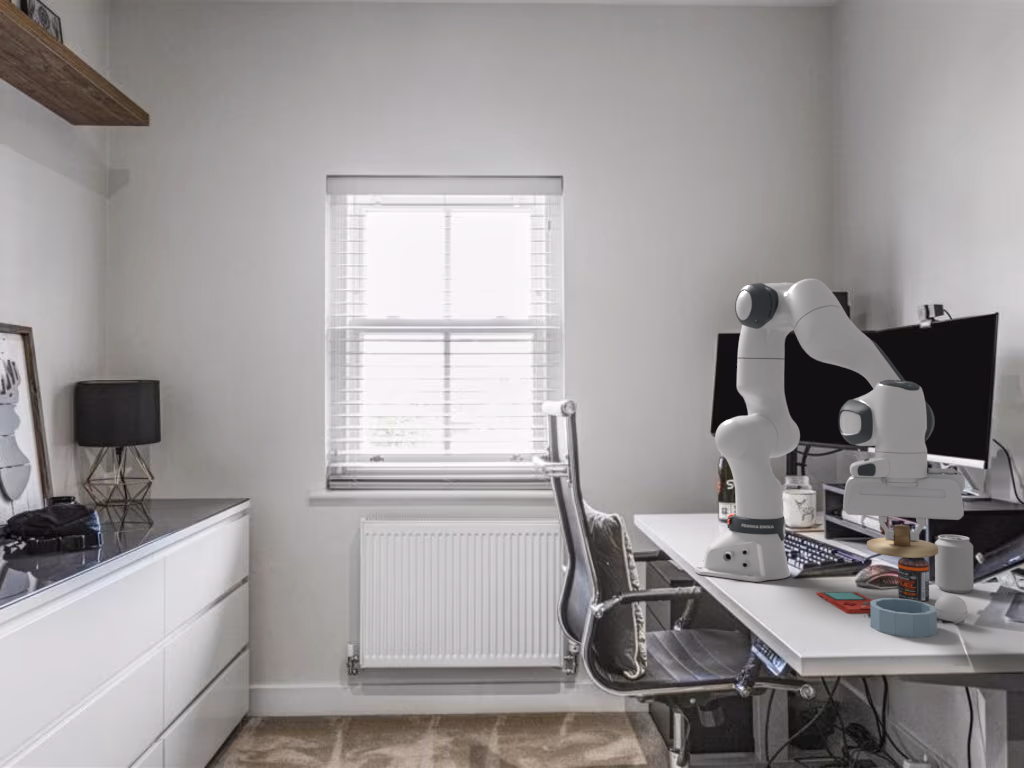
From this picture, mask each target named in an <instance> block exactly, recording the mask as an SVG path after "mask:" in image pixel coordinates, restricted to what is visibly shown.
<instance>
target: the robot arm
mask: <svg viewBox="0 0 1024 768" xmlns="http://www.w3.org/2000/svg"><path fill="white" fill-rule="evenodd" d="M734 312H735V315H736V318H737V319H738V321H739V323H740V324H741V328H740V334H739V338H738V339H739V340H738V347H737V360H736V361H737V363H736V366H737V368H736V390H737V392H738V393H739V395H740V396H741V397H742V398H743V400H744V403H745V405H746V409H747V415H737V416H734V417H731V418H729V419H726V420H725V421H723V422H721V423H720V424H719V425H718V427H717V429H716V431H715V437H714V441H715V442H714V443H715V446H716V449H717V450H718V452H719V453H720V455H722V456H723V458H725V460H726V461H727V463H728V466H729V468H730V471H731V474H732V477H733V482H734V492H735V495H734V496H735V513H733V512H732V513H730V514H729V515H728V516H727V523H726V524H727V525H726V526H727V530H726V531H724V532H723V533H721V534H720V535H718V536H717V537H716V538H715V539H713V540H712V541H710V543H709V544H708V545H707V546H706V550H705V551H704V552H705V553H704V559H703V560H702V561H699V562H697V563H696V565H695V568H694V570H695V573H696V574H697V575H698V574H699V575H702V576H708V577H709V576H710V577H717V578H724V579H731V580H739V581H747V582H754V583H755V582H757V583H758V582H759V583H760V582H765V581H772V580H773V581H774V580H781V579H785V578H788V577H790V576H791V571H790V568H789V564H788V560H787V554H786V549H785V547H786V546H785V539H786V521H785V516H784V515H783V512H784V511H783V508H784V507H783V485H782V483H781V481H780V480H779V479H778V478H777V477H776V476H775V473H774V472H773V469H772V465H771V459H774V458H775V459H776V458H780V457H781V458H782V457H783V456H785V455H787V454H790V453H791V452H793V451H794V450H795V449H796V448H797V447H798V445H799V444H800V440H801V439H800V438H801V433H800V429H799V427H798V425H797V423H796V422H795V420H793V418H792V416H791V415H790V411H789V408H788V404H787V399H786V394H785V352H786V351H785V350H786V349H785V348H786V347H785V343H786V339H787V336H788V335H789V334H790V332H794V334H795V337H796V338H797V341H798V342H799V345H800V346H801V347H800V348H802V350H803V351H804V352H805V353H806V354H807V355H808V356H809V357H810V358H812V359H814V360H815V361H818V362H821V363H825V364H829V365H834V366H838V367H841V368H845V369H847V370H851V371H853V372H856V373H858V374H859V375H861V376H862V377H864V378H865V379H866V381H867V382H868V383H869V384H870V386H871V387H872V390H871V391H869V392H867V393H866V394H863V395H861V396H859V397H855V398H853V399H851V398H850V399H848V400H847V401H846V402H845V403H844V404H843V405H842V406H841V408H840V410H839V413H838V418H837V423H838V430H839V432H840V434H841V436H842V437H843V439H844V440H845V441H846V442H847V443H849V444H850V445H853V446H854V445H855V446H858V447H872V446H873V447H875V448H874V457H870V458H865V459H863V460H858V461H854V462H853V463H851V464H850V466H849V474H850V476H849V477H848V479H847V480H846V482H845V485H844V486H845V487H844V493H843V500H842V501H843V504H842V511H844V513H845V514H846V515H847V516H848V515H850V516H851V515H852V516H868V517H869V516H871V517H878V523H879V525H880V526H881V528H882V530H883V531H884V537H885V540H887V541H894V529H889V528H888V526H887V525H886V523H887V521H888V517H892V518H912V519H916V523H917V524H918V525H916V526H917V527H916V528H915V529H914V530H910V542H919V540H920V534H921V532H922V530H923V529H924V527H925V526H926V521H927V520H926V519H929V520H930V519H932V520H954V521H959V520H961V519H962V518H963V517H964V513H965V512H964V504H963V497H962V492H964V490H965V486H966V485H965V484H966V483H965V482H966V481H965V476H964V474H963V473H962V472H960V471H958V470H956V469H955V468H951V467H950V468H949V467H947V468H940V467H928V448H927V445H926V441H927V440H928V439H929V438H930V437H931V434H932V433H933V431H934V428H935V424H936V423H935V415H934V412H933V409H932V407H931V406H930V405H929V404H928V402H927V401H926V399H925V395H924V391H923V388H922V387H921V386H920V385H919V384H918V383H916V382H913V381H908V380H906V379H905V378H904V377H903V375H902V374H901V373H900V372H899V370H898V369H897V368H896V366H895V365H894V363H893V362H892V361H891V359H890V358H889V357H888V355H887V354H886V353H885V351H884V350H883V349H882V348H881V347H880V345H878V344H877V343H876V341H874V340H873V339H871V337H868V336H867V335H866V334H865V333H864V332H862V331H861V329H859V328H858V327H857V326H856V324H855V323H854V322H853V321H852V320H851V319H850V317H849V316H848V315H847V313H846V311H845V309H844V308H843V306H842V305H841V303H840V301H839V300H838V298H837V296H836V295H835V294H834V293H833V292H832V290H831V289H830V288H829V287H828V286H827V285H826V283H824V282H823V281H821V280H820V279H816V278H805V279H802V280H801V279H800V280H799V281H796V282H795V283H794V282H772V283H771V282H770V283H762V282H756V283H751V284H747V285H744V286H743V287H742V288H741V289H740V291H739V292H738V294H737V296H736V299H735V303H734Z"/></svg>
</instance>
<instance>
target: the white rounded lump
mask: <svg viewBox="0 0 1024 768" xmlns="http://www.w3.org/2000/svg"><path fill="white" fill-rule="evenodd" d="M934 607H935V608H936V611H937V617H938V618H939V619H941V620H942V621H946V622H951V623H953V624H954V625H958V624H960V623H962V622H963V621H965V619H966V618H967V617H968V611H969V609H968V605H967V603H966V601H964V599H963V598H962V597H960V596H958V595H957V594H955V593H954V594H953V593H947V594H946V593H945V594H943V595H941V596H939V597H938V598H937V600H936V601H935V604H934Z"/></svg>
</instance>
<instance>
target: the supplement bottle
mask: <svg viewBox="0 0 1024 768" xmlns="http://www.w3.org/2000/svg"><path fill="white" fill-rule="evenodd" d="M897 598H901V599H911V600H915V601H920V602H925V603H928V602H929V601H930V564H929V561H928V560H926V558H925V557H922V558H906V557H900V558H899V559H898V561H897Z"/></svg>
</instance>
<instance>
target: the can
mask: <svg viewBox="0 0 1024 768" xmlns="http://www.w3.org/2000/svg"><path fill="white" fill-rule="evenodd" d="M937 538H938V539H937V540H936V541H934V544H935V545H937V546H938V554H937V555H934V567H935V569H934V570H935V571H934V574H935V575H934V578H935V579H934V581H935V582H934V583H935V585H936V587H938V588H939V590H941V591H942V592H948V593H952V594H953V593H954V594H966V593H969V592H970V591H971V590H973V589H974V585H975V584H974V545H973V544H972V543H971V541H970V540H971V539H970V537H968V536H964V535H960V534H939V535H937Z"/></svg>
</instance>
